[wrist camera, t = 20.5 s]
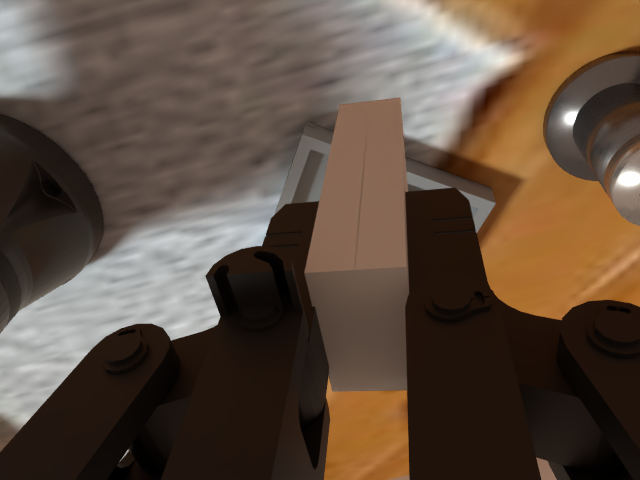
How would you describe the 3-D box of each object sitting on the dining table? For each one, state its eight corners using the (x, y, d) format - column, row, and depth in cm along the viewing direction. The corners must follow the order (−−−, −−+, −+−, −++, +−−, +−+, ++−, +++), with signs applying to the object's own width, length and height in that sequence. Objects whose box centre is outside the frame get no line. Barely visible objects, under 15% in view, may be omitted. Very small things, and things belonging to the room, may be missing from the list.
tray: (410, 317, 44) (411, 334, 43) (256, 267, 43) (251, 283, 42) (491, 187, 37) (495, 203, 35) (306, 121, 35) (302, 134, 34)
